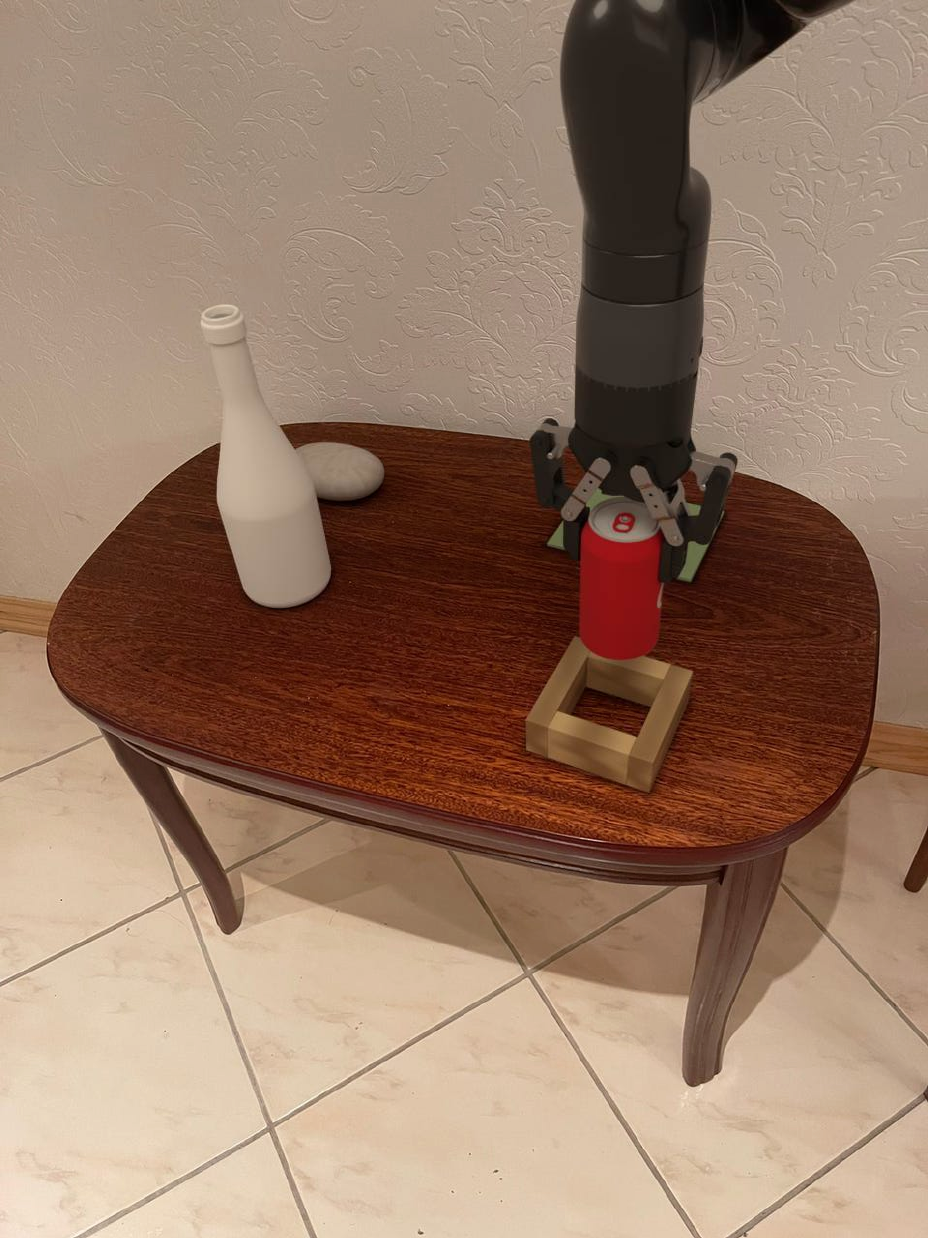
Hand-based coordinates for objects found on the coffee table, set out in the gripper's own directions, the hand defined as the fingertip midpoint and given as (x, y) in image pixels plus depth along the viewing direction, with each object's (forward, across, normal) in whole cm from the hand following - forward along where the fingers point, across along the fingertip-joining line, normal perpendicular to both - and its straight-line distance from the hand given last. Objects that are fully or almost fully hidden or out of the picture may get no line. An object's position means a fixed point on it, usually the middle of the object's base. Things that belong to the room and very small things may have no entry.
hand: (622, 564), depth 66 cm
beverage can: (+8, 0, 0) cm, 8 cm away
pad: (+18, -7, +28) cm, 34 cm away
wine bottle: (+18, -38, +5) cm, 43 cm away
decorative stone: (+18, -43, +22) cm, 52 cm away
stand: (+18, 0, 0) cm, 18 cm away
